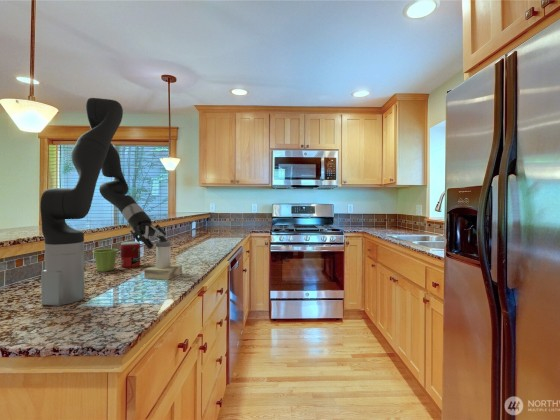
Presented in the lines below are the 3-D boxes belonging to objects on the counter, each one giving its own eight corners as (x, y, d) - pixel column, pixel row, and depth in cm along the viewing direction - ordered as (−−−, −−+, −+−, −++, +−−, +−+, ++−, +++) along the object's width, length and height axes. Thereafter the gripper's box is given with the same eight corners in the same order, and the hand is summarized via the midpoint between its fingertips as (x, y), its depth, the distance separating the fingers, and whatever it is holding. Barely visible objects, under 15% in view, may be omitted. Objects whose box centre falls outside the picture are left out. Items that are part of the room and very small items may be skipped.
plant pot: (96, 268, 125) (96, 249, 124) (120, 267, 127) (120, 248, 127) (89, 273, 116) (89, 252, 115) (115, 272, 118) (114, 251, 118)
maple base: (167, 279, 107) (167, 270, 107) (144, 278, 109) (144, 269, 109) (181, 273, 117) (181, 265, 116) (160, 272, 118) (160, 263, 118)
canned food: (134, 268, 125) (134, 243, 125) (117, 268, 126) (116, 243, 125) (143, 264, 133) (143, 241, 133) (126, 264, 133) (126, 241, 133)
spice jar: (165, 269, 109) (165, 243, 109) (152, 268, 110) (152, 242, 110) (173, 266, 115) (173, 241, 115) (161, 265, 116) (161, 241, 116)
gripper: (127, 211, 108) (152, 241, 105) (154, 210, 122) (176, 237, 119) (116, 224, 110) (140, 255, 107) (144, 222, 124) (166, 249, 120)
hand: (159, 246), depth 113 cm, fingers open, 8 cm apart
